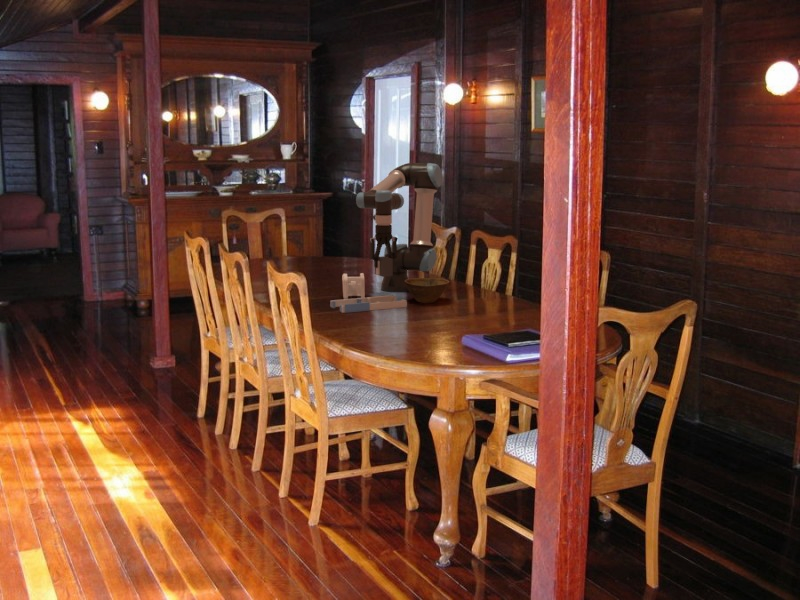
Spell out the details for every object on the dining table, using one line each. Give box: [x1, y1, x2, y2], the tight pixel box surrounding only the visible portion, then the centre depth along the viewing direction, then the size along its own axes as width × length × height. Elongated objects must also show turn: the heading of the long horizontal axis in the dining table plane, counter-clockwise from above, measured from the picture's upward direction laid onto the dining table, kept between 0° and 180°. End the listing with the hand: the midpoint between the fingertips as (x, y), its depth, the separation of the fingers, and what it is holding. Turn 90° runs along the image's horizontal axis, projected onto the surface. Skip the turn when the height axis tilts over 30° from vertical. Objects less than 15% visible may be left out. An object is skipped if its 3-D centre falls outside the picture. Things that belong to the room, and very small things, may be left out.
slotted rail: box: [329, 294, 408, 314], centre depth 428 cm, size 32×16×4 cm, turn 115°
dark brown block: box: [374, 255, 393, 278], centre depth 428 cm, size 5×9×8 cm, turn 26°
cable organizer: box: [341, 272, 366, 299], centre depth 449 cm, size 15×11×12 cm
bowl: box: [405, 277, 450, 304], centre depth 441 cm, size 22×23×10 cm
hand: (383, 274), depth 429 cm, fingers closed on dark brown block, 5 cm apart
